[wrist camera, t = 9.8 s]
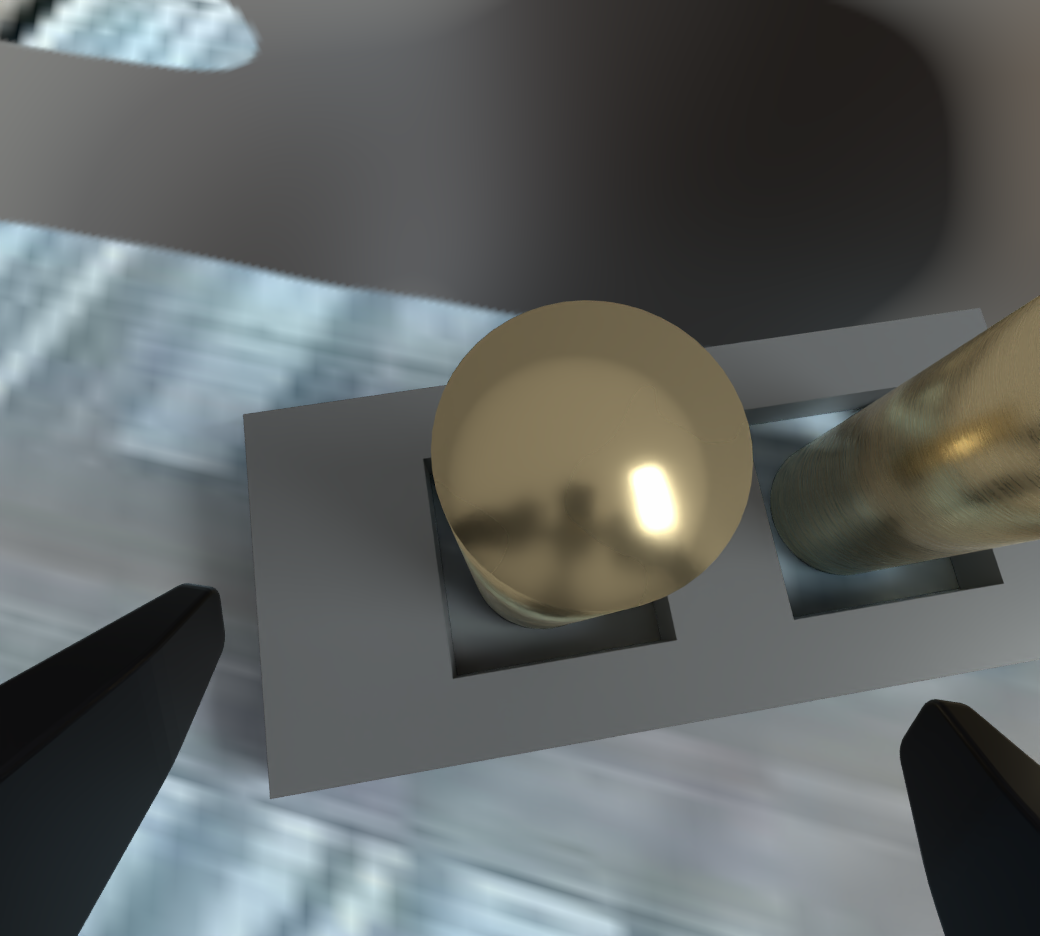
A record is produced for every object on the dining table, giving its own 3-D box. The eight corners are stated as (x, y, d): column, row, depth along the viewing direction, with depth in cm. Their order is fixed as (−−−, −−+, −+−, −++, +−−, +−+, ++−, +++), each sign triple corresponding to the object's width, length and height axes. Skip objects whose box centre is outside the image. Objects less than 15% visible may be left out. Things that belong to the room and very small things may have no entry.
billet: (789, 585, 22) (1173, 511, 9) (755, 453, 23) (1058, 228, 11) (921, 563, 22) (1462, 462, 10) (881, 433, 23) (1323, 192, 11)
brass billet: (482, 639, 21) (455, 636, 9) (462, 501, 22) (411, 322, 10) (622, 616, 22) (789, 581, 9) (595, 480, 23) (711, 281, 10)
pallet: (292, 783, 20) (270, 799, 18) (265, 433, 23) (243, 414, 21) (1049, 647, 22) (1102, 648, 20) (942, 334, 24) (980, 307, 22)
